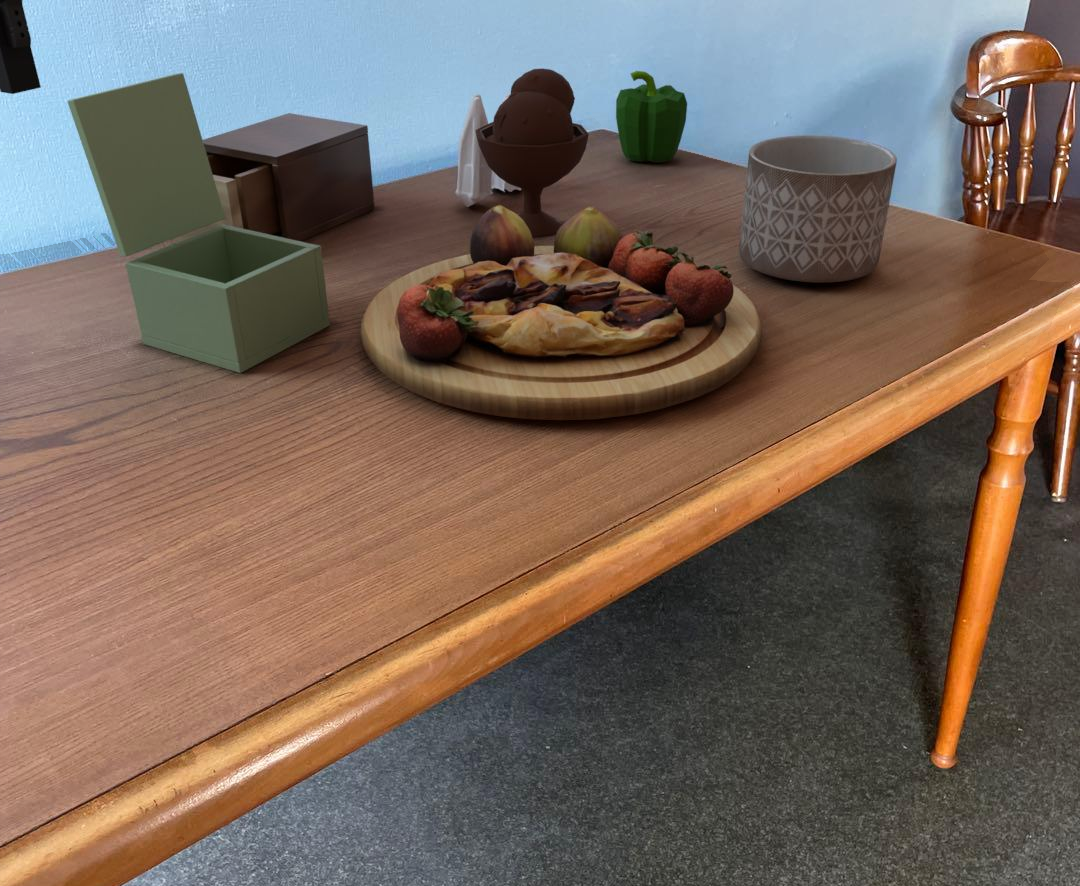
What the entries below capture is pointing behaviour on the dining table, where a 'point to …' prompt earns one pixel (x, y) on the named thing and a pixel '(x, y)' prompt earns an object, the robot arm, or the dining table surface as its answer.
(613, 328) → the wooden plate
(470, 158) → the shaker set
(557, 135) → the ice cream bowl
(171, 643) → the dining table surface
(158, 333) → the chest
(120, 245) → the chest lid
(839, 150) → the planter
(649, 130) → the bell pepper
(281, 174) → the cabinet
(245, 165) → the drawer
